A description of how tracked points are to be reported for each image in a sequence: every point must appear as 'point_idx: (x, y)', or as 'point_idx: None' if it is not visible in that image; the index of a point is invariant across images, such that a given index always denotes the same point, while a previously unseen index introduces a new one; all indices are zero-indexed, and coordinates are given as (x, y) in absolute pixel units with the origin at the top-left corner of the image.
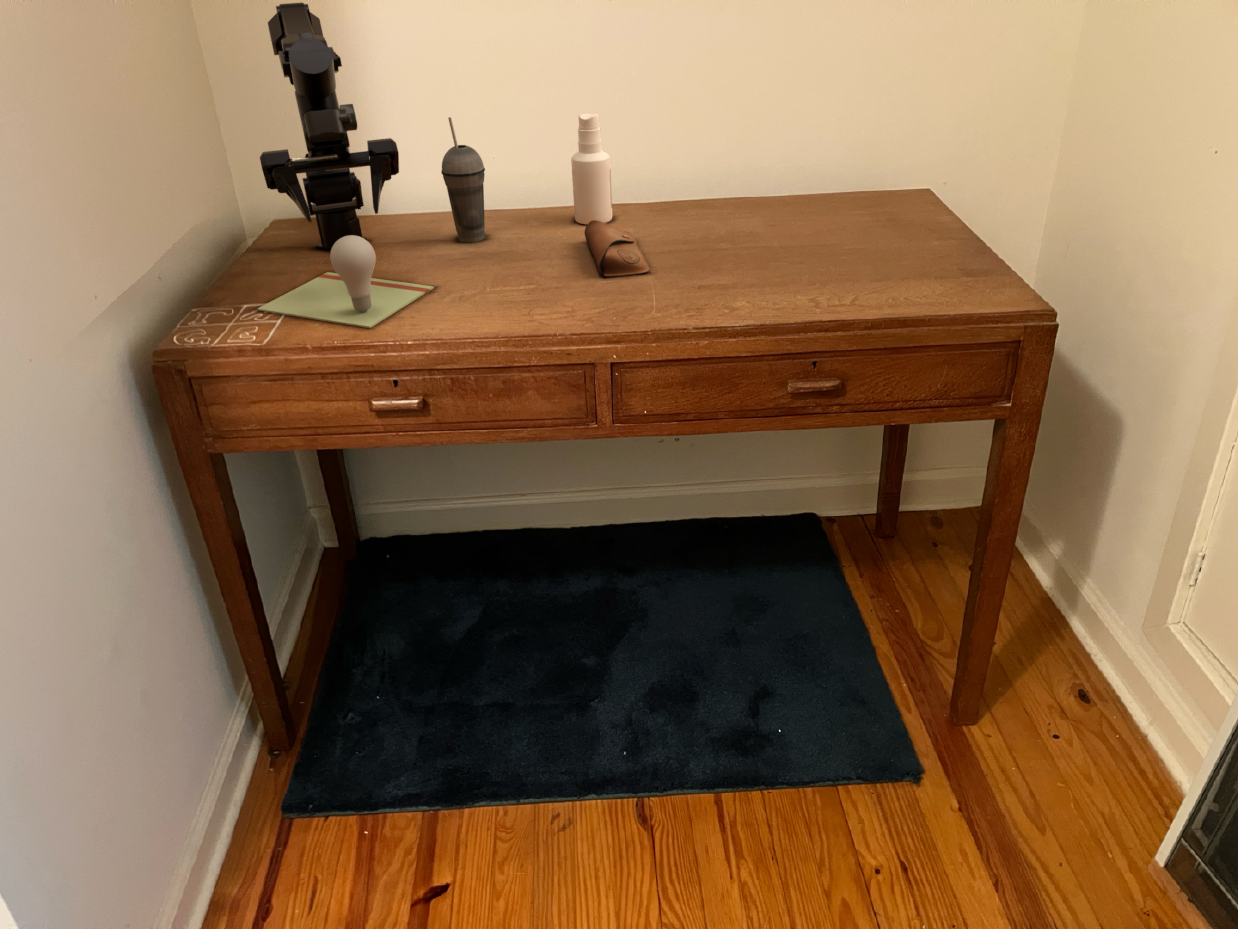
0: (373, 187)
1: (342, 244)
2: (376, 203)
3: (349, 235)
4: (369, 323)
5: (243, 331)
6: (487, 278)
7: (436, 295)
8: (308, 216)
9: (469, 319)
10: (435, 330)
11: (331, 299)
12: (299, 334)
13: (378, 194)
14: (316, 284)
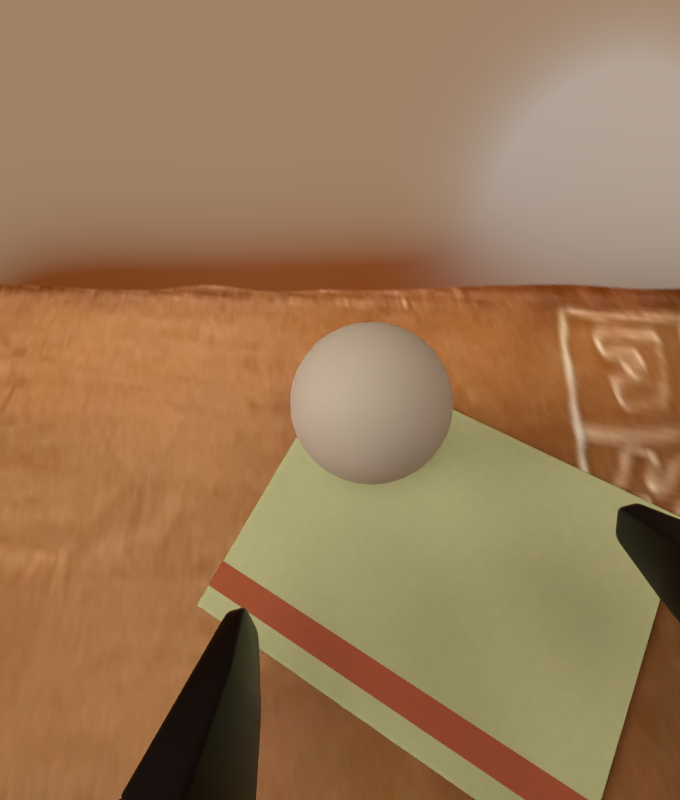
0: (175, 780)
1: (391, 334)
2: (216, 641)
3: (373, 397)
4: None
5: (646, 384)
6: (45, 659)
7: (195, 543)
8: (641, 509)
9: (134, 377)
10: (207, 333)
11: (480, 552)
12: (497, 350)
13: (169, 712)
14: (574, 714)
